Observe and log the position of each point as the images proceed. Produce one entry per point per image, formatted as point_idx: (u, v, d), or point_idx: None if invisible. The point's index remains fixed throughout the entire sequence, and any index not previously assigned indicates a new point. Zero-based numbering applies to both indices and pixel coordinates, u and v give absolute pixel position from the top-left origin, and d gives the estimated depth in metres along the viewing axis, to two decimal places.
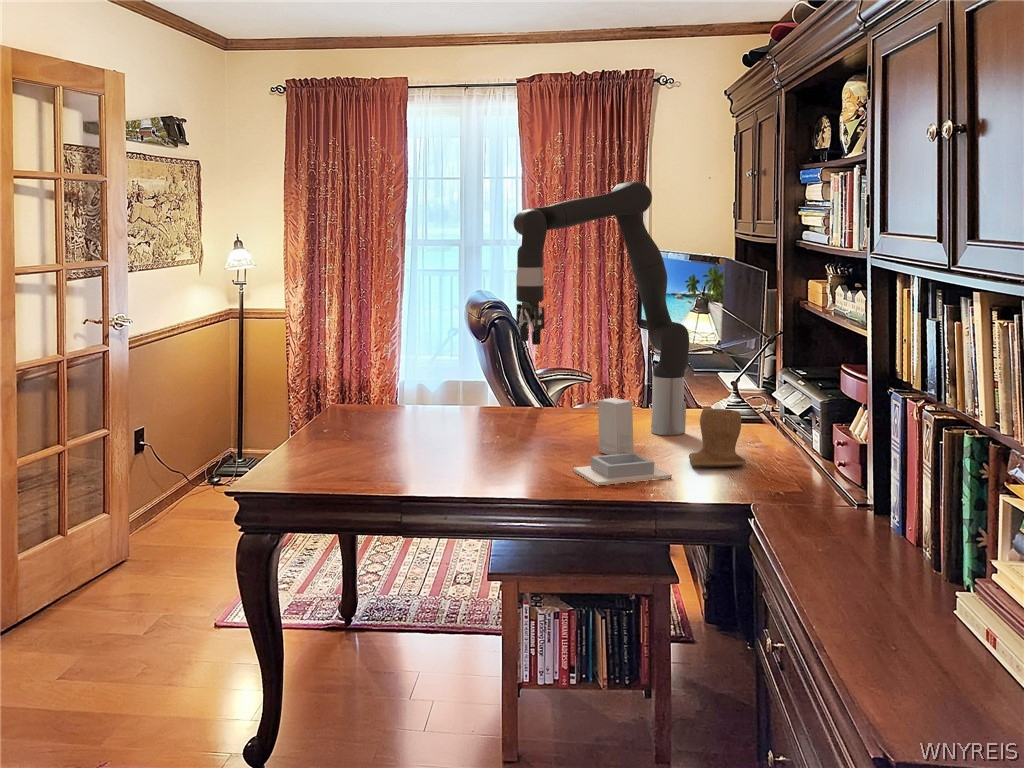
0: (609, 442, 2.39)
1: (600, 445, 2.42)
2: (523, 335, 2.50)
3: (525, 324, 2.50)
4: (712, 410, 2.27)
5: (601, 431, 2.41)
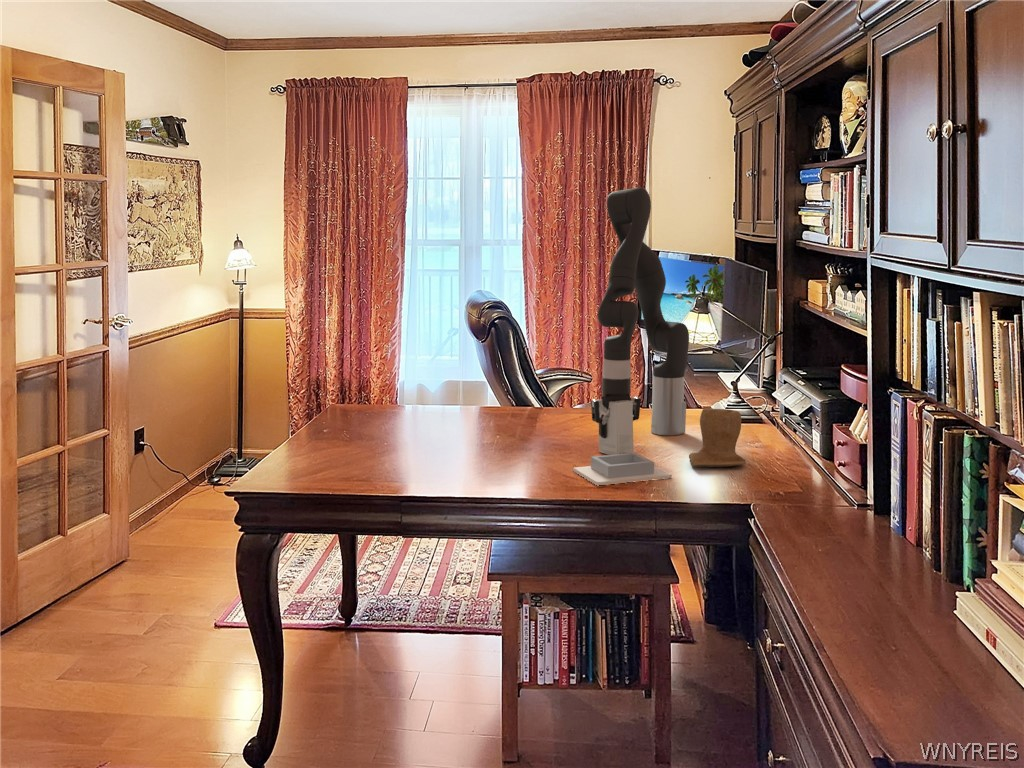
0: (609, 442, 2.39)
1: (600, 445, 2.42)
2: None
3: None
4: (712, 410, 2.27)
5: None
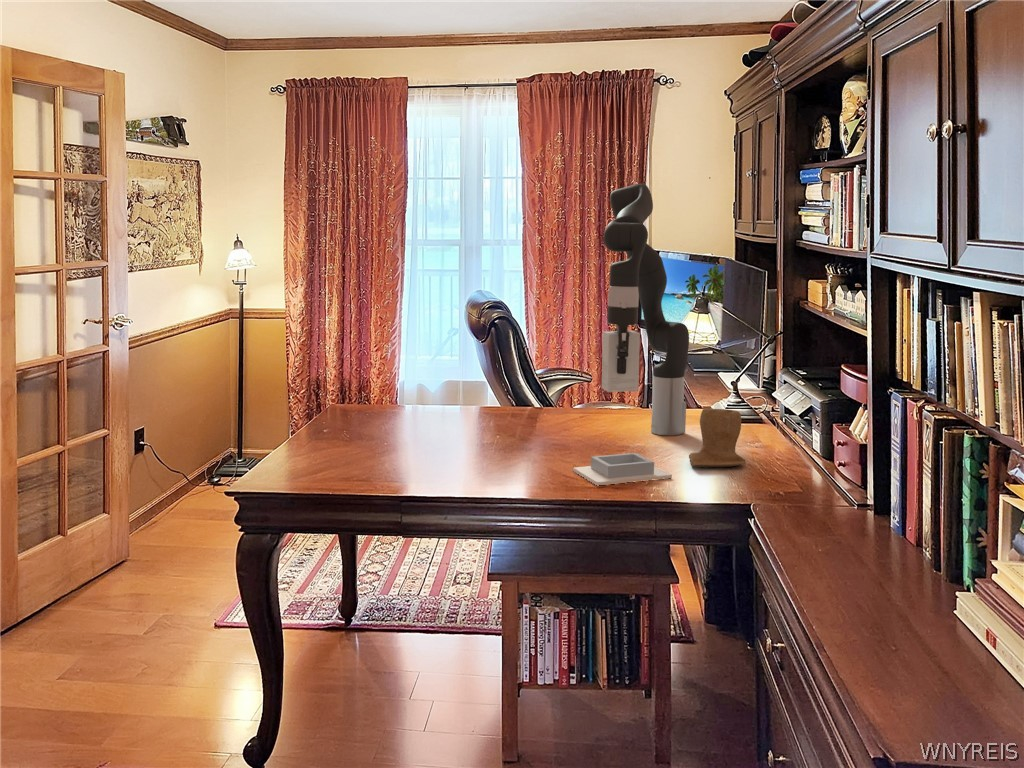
0: (627, 377, 2.20)
1: (611, 384, 2.20)
2: None
3: None
4: (712, 410, 2.27)
5: (614, 368, 2.19)
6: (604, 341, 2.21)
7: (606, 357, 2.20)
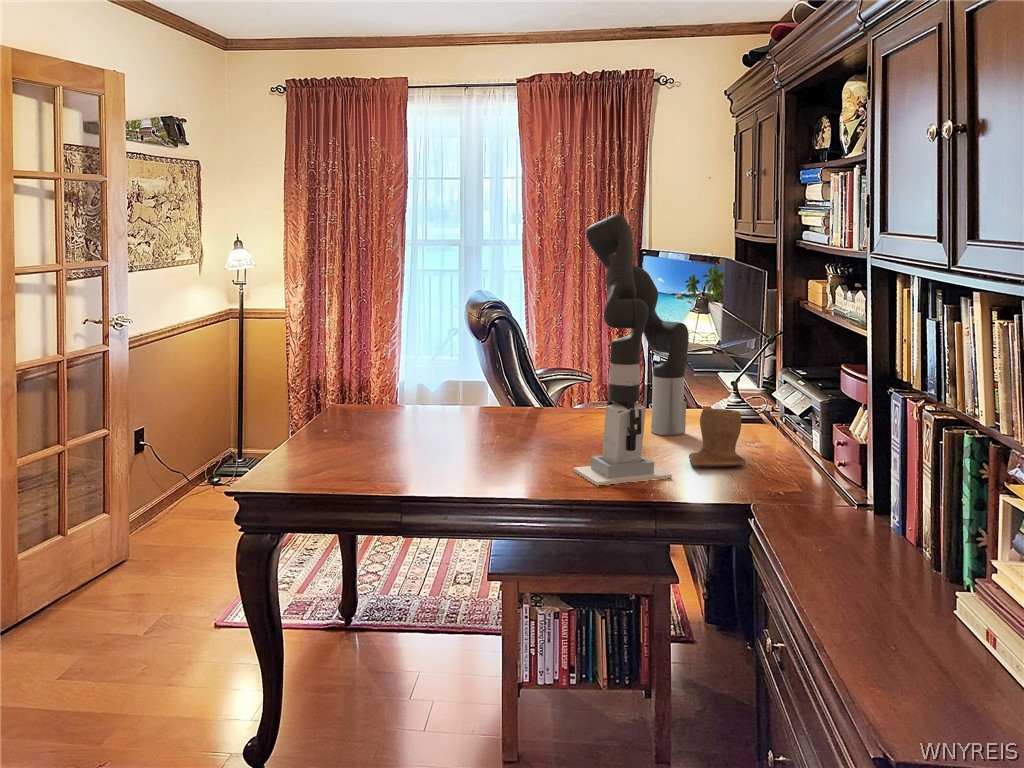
0: (633, 451, 2.17)
1: (619, 460, 2.16)
2: None
3: None
4: (712, 410, 2.27)
5: (623, 444, 2.15)
6: (611, 417, 2.14)
7: (613, 433, 2.15)
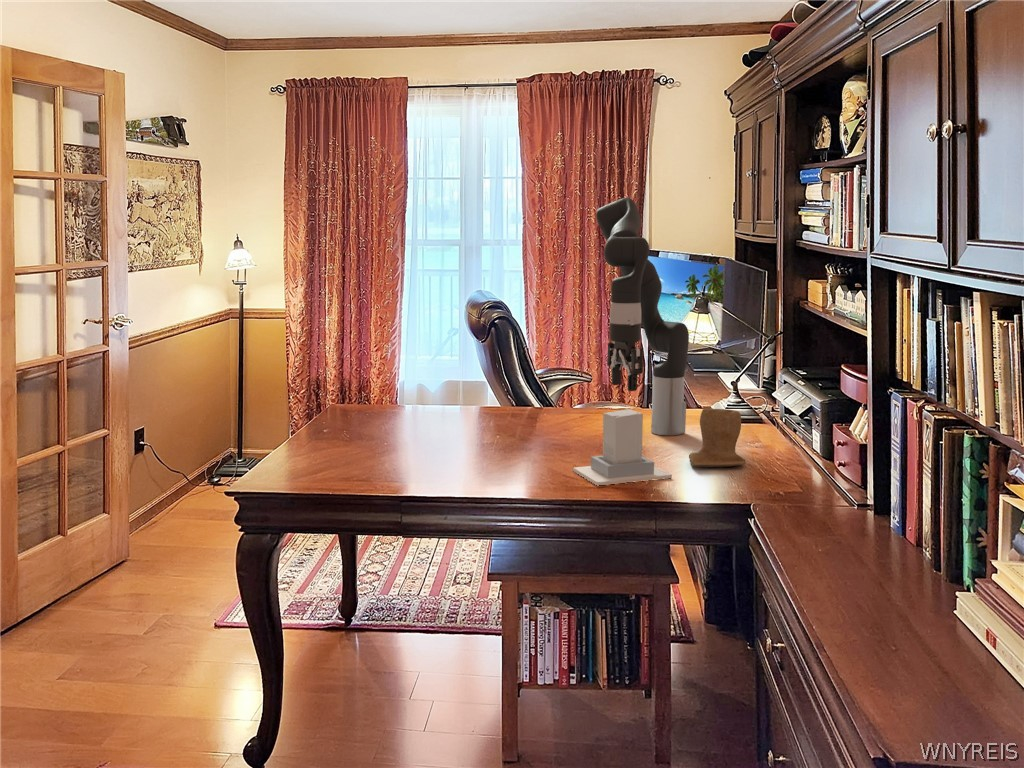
0: (632, 458, 2.18)
1: None
2: None
3: None
4: (712, 410, 2.27)
5: (621, 450, 2.16)
6: (608, 423, 2.17)
7: (611, 439, 2.16)
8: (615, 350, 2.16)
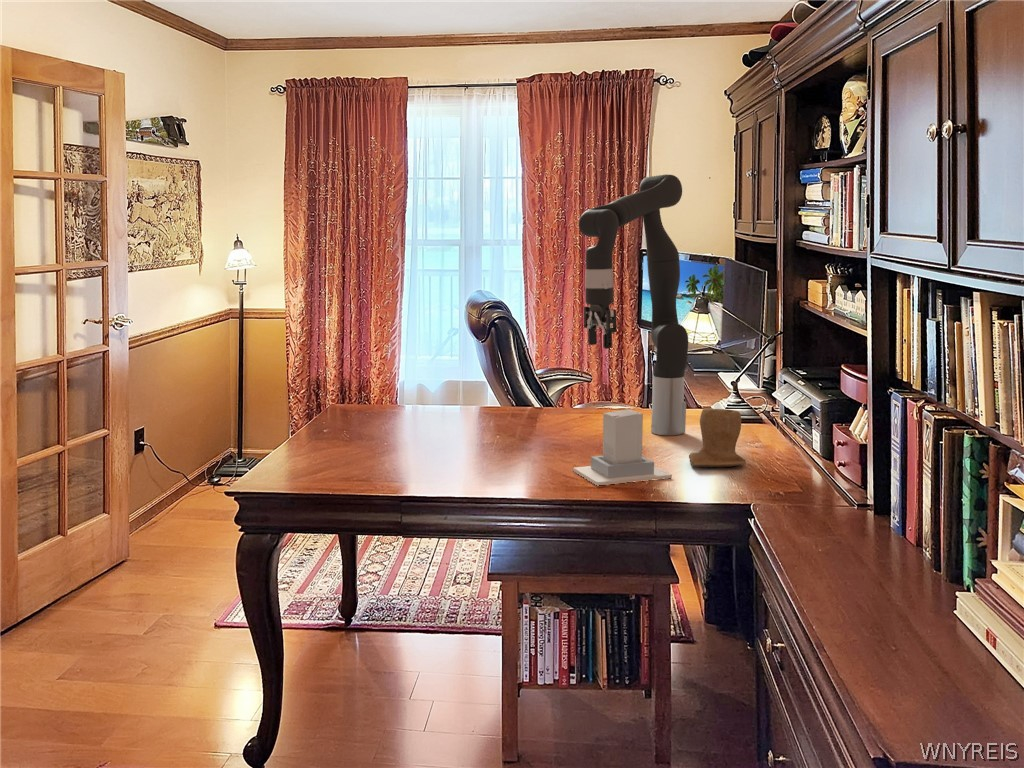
0: (632, 458, 2.18)
1: None
2: None
3: None
4: (712, 410, 2.27)
5: (621, 450, 2.16)
6: (608, 423, 2.17)
7: (611, 439, 2.16)
8: (591, 312, 2.39)
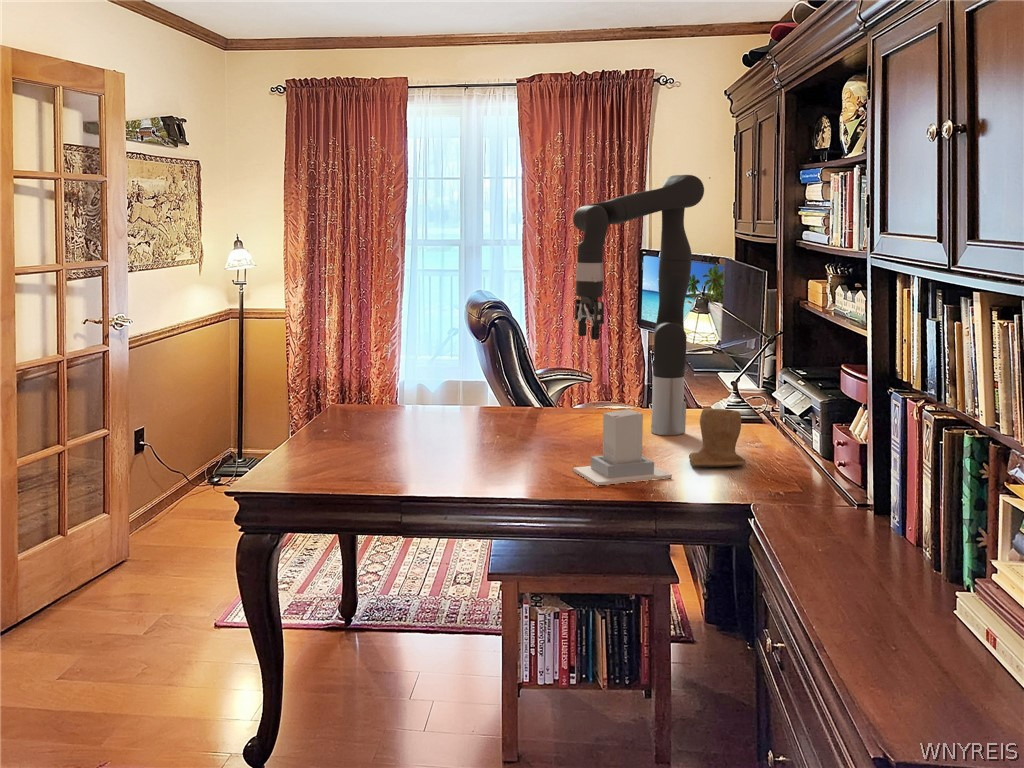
0: (632, 458, 2.18)
1: None
2: None
3: None
4: (712, 410, 2.27)
5: (621, 450, 2.16)
6: (608, 423, 2.17)
7: (611, 439, 2.16)
8: (581, 304, 2.48)
